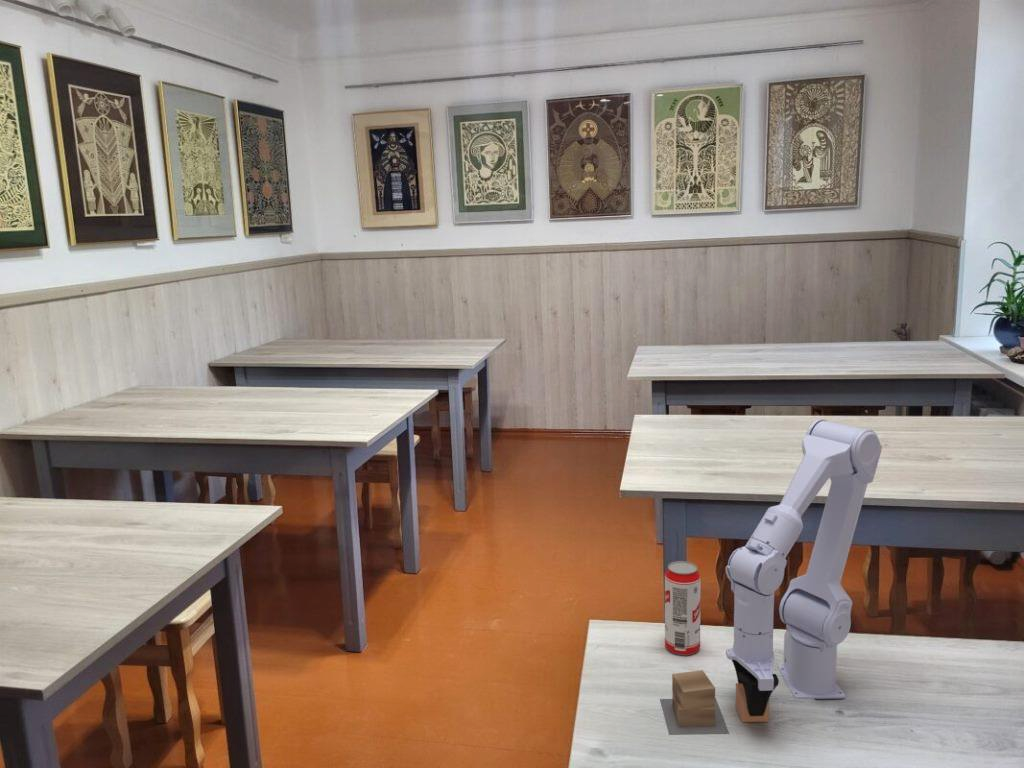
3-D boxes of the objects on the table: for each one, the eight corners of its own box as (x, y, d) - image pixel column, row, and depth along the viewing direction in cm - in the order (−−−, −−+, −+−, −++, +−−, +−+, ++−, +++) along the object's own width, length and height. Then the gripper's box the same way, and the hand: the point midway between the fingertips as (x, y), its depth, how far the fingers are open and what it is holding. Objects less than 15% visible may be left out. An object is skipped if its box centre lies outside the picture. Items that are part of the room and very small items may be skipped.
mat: (659, 701, 126) (659, 698, 126) (715, 700, 126) (715, 697, 126) (669, 736, 117) (669, 734, 117) (729, 735, 117) (729, 733, 117)
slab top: (672, 691, 123) (672, 673, 122) (702, 687, 124) (702, 670, 123) (683, 710, 118) (683, 692, 117) (715, 705, 119) (715, 688, 118)
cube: (735, 706, 123) (735, 683, 122) (761, 705, 123) (761, 682, 122) (742, 722, 119) (742, 698, 118) (768, 721, 119) (769, 698, 118)
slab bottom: (672, 705, 124) (672, 688, 124) (707, 704, 124) (707, 687, 123) (678, 727, 119) (678, 709, 118) (714, 726, 119) (715, 708, 118)
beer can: (662, 656, 139) (662, 572, 136) (666, 638, 145) (666, 558, 142) (698, 660, 137) (699, 576, 134) (701, 642, 143) (701, 561, 140)
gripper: (716, 603, 125) (715, 679, 128) (739, 651, 111) (737, 736, 114) (760, 601, 125) (758, 678, 128) (789, 650, 111) (786, 735, 114)
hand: (752, 705), depth 121 cm, fingers closed on cube, 4 cm apart
